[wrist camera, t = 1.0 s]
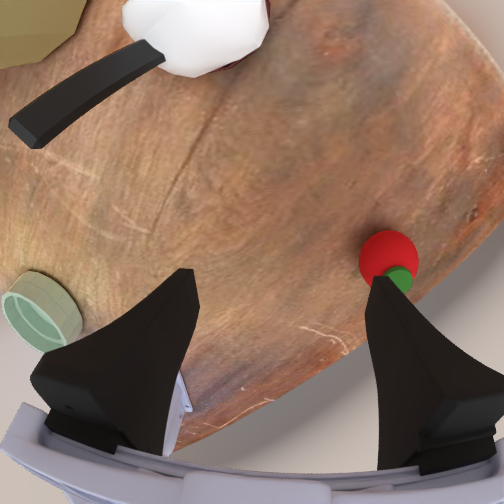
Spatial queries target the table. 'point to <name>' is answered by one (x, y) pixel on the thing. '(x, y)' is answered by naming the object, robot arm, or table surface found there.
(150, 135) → the table surface
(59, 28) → the jar
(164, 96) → the table surface
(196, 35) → the cocoa
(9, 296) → the bowl
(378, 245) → the tomato
